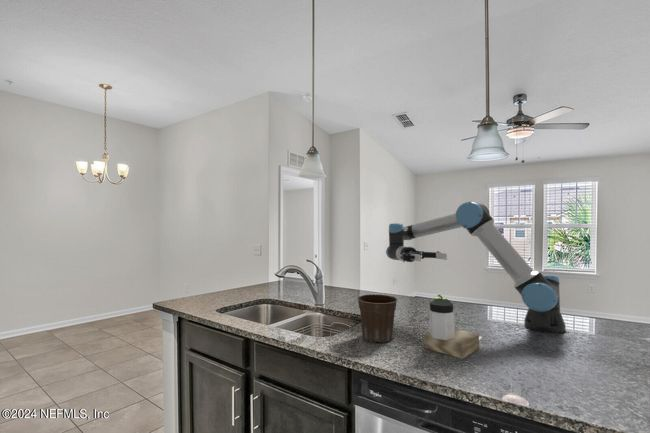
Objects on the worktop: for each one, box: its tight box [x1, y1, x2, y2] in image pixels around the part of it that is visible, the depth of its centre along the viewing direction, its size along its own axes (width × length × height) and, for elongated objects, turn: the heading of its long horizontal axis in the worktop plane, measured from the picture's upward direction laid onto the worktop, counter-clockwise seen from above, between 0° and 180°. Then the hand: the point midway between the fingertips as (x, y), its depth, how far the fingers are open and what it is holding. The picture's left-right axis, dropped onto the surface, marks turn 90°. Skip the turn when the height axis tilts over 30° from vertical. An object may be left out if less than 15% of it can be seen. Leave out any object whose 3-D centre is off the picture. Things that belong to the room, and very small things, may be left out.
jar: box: [428, 300, 456, 340], centre depth 120 cm, size 9×8×12 cm
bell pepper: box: [433, 294, 452, 303], centre depth 166 cm, size 8×8×10 cm
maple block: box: [424, 328, 480, 360], centre depth 122 cm, size 14×14×5 cm
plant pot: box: [357, 293, 398, 344], centre depth 133 cm, size 16×16×16 cm
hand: (433, 257), depth 145 cm, fingers open, 13 cm apart
